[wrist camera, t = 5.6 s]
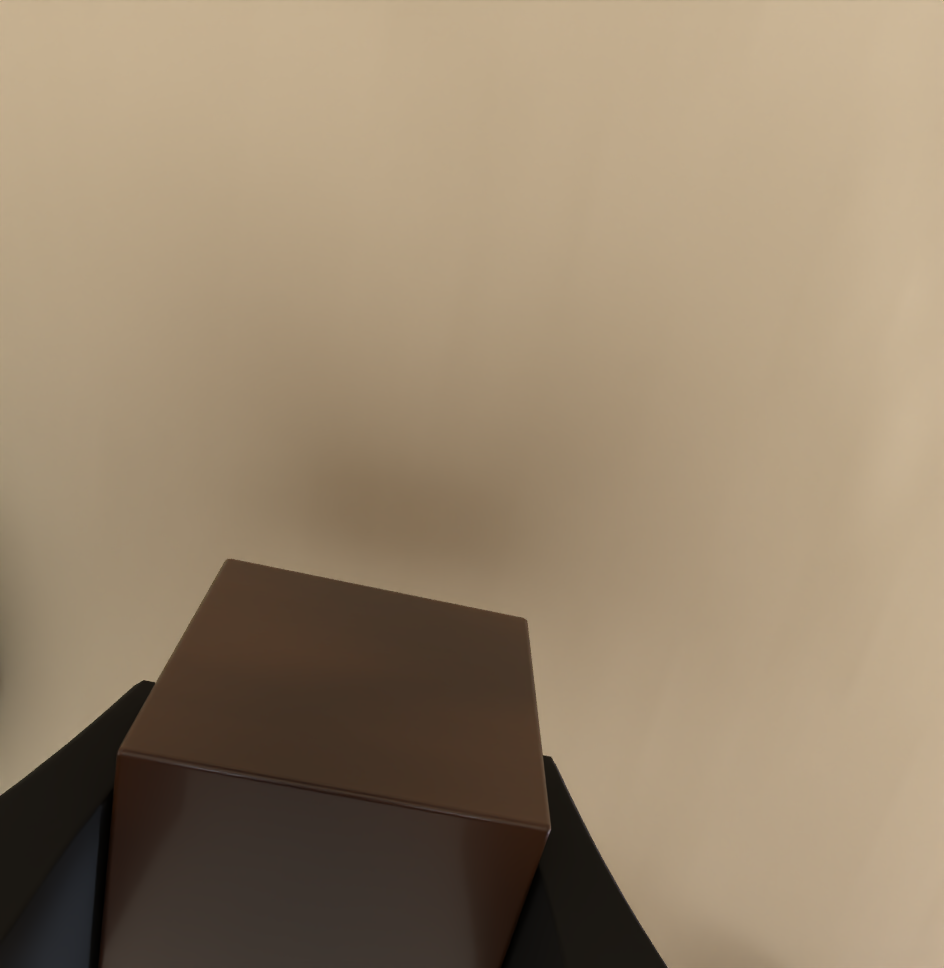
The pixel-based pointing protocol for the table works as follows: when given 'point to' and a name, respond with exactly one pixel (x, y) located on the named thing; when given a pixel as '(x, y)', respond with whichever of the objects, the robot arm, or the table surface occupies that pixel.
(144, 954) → the block
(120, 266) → the table surface
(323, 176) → the table surface
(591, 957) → the robot arm
